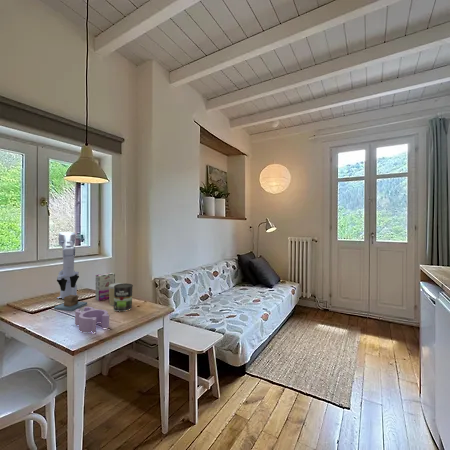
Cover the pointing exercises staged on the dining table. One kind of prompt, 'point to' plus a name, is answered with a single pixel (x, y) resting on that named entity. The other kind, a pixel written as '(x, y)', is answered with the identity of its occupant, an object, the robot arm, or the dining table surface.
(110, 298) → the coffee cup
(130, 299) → the coffee can
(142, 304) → the dining table surface
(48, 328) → the dining table surface
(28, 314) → the dining table surface
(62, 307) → the slate board
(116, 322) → the dining table surface
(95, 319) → the clip
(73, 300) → the walnut cube
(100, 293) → the candy bar box
